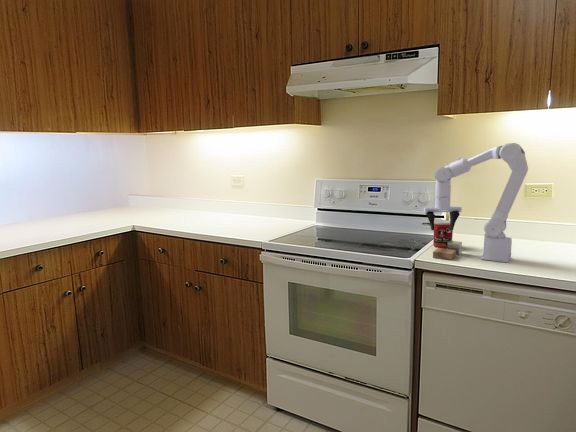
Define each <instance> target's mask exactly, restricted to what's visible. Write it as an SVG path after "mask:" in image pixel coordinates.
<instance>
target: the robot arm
mask: <svg viewBox="0 0 576 432" xmlns="http://www.w3.org/2000/svg"><path fill="white" fill-rule="evenodd" d="M492 159H493V160H503V161H504V162H505V163H506V164H507V165H508V166H509V168H510V171H511V172H510V175H509V178H508V181H507V183H506V185H505V187H504V189H503V192H502V194H501V196H500V199H499V201H498V203H497V206H496V207H495V210H494V212H493V213H492V215H491V218H490V220H488V221H487V222H486V223H485V224H484V227H483V229H484V230H483V231H484V237H483V253H482V254H483V255H482V256H481V257H480V260H484V261H492V262H500V263H509V261H510V260H511V258H512V243H513V242H512V237H508V236H506V234H505V232H504V231H505V230H506V229H507V219H508V217H509V214H510V212H511V210H512V207H513V205H514V203H515V200H516V197H517V196H518V194H519V191H520V189H521V187H522V186H523V183H524V180H525V178H526V175H527V173H528V171H529V167H528V166H529V165H528V160H527V158H526V151H525V150H524V149H523V147H522V146H521V145H520V144H518V143H515V142H512V143H511V142H510V143H505V144H503V145H499V146H495V147H492V148H490V149H488V150H485V151H483V152H481V153H479V154H477V155H475V156H472V157H470V158H465V157H462V158H461V157H457V158H456V160H454V161H453V162H451V163H445V164H444V166H440V167H438V168H437V169H435V171H434V174H433V175H434V179H435V197H434V198H435V199H434V200H435V202H434V203H435V204H434V206H432V207H431V206H429V207H426V206H425V207H423V213H424V214H426V217H427V219H428V222H429V225H430V230H431V231H434V221H435V218H436V215H435V213H449V221H450V229H451V230H454V227H455V225H456V222H457V219H458V218H459V217H460V215H461V214H460V213H462V212H463V211H462V206H451V192H452V191H451V190H452V189H451V187H452V185H451V182H452V180H451V179H452V178H453V179H454V178H456V177H459V176H461V175H464V174H466V173H468V172H470V171H471V169H472V167H473V166H476V165H478V164H481V163H484V162H486V161H489V160H492Z"/></svg>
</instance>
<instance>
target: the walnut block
mask: <svg viewBox="0 0 576 432" xmlns="http://www.w3.org/2000/svg"><path fill="white" fill-rule="evenodd" d="M456 256H457V255H456V250H452V249H448V248H437V247H436V249H434V250H433V252H432V258H433V259H439V260H446V261H447V260H448V261H452V260H453V259H454V258H455V257H456Z"/></svg>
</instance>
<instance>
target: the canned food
mask: <svg viewBox="0 0 576 432" xmlns="http://www.w3.org/2000/svg"><path fill="white" fill-rule="evenodd" d="M453 230H454V229H453ZM453 230H451V229H450V219H449V220H447V219H437V220H434V230H433V242H432V243H433V247H435V248H436V249H437V248H444V249H448V244H447V243H448V242H449V241H453V232H454V231H453Z"/></svg>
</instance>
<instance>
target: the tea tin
mask: <svg viewBox="0 0 576 432" xmlns="http://www.w3.org/2000/svg"><path fill="white" fill-rule="evenodd" d="M447 244H448V248H447V249H452V250H456V256H460V255H462V248H463V242H462V241H455V240H452V241H449V242H448V243H447Z"/></svg>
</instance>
